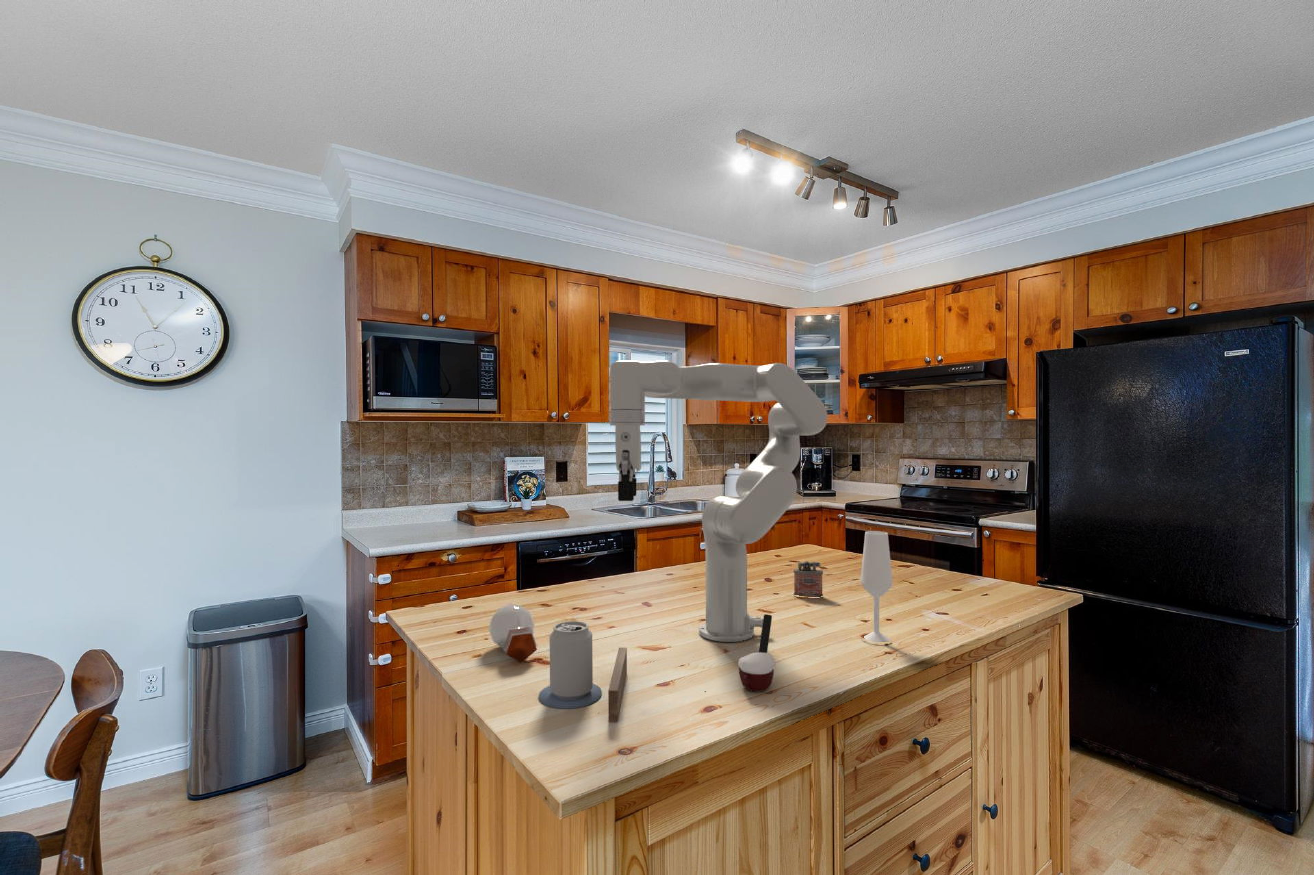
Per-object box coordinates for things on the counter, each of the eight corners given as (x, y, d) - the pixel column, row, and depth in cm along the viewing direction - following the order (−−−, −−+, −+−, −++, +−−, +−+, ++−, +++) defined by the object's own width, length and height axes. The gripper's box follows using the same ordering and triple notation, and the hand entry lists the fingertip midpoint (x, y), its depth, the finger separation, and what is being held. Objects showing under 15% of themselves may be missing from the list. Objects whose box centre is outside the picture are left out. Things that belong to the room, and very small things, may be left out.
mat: (604, 682, 115) (604, 681, 115) (597, 709, 104) (597, 707, 104) (545, 682, 115) (545, 680, 115) (532, 708, 104) (532, 706, 104)
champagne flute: (885, 647, 133) (885, 536, 133) (855, 640, 138) (855, 533, 138) (897, 640, 138) (897, 532, 138) (868, 633, 143) (868, 529, 143)
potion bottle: (512, 645, 139) (527, 676, 126) (476, 625, 136) (488, 656, 122) (537, 610, 141) (554, 637, 127) (502, 590, 137) (516, 616, 123)
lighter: (794, 597, 174) (794, 562, 174) (793, 594, 177) (793, 559, 177) (823, 599, 173) (823, 563, 173) (822, 595, 176) (822, 560, 176)
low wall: (626, 673, 119) (626, 647, 119) (617, 721, 99) (617, 690, 99) (619, 673, 119) (618, 647, 119) (608, 721, 99) (608, 690, 99)
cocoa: (749, 701, 108) (748, 633, 107) (726, 687, 113) (726, 622, 112) (789, 686, 113) (789, 622, 112) (766, 674, 118) (765, 612, 117)
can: (585, 703, 105) (584, 633, 105) (543, 700, 107) (542, 630, 107) (598, 686, 113) (597, 620, 112) (558, 683, 114) (558, 617, 114)
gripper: (642, 417, 124) (643, 502, 124) (646, 419, 142) (646, 494, 142) (605, 417, 124) (605, 502, 125) (613, 419, 142) (613, 494, 142)
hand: (627, 498), depth 133 cm, fingers open, 9 cm apart
